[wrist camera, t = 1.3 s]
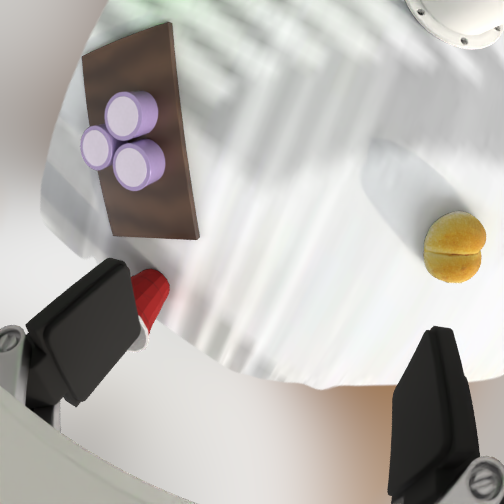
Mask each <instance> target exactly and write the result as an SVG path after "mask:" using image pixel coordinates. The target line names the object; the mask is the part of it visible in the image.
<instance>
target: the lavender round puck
mask: <svg viewBox="0 0 504 504" xmlns="http://www.w3.org/2000/svg"><path fill="white" fill-rule="evenodd" d="M164 170H165V157H164V154H163V151H162V149H161V148H160V147H159V145H158V144H157V143H155V142H154V141H152V140H150V139H140V140H136V141H133V142H129V143H126V144H123V145H122V146H120V147H119V148H118V149H117V151H116V152H115V154H114V158H113V171H114V174H115V177H116V179H117V180H118V182H119V183H120V184H121V185H122V186H123V187H124V188H126V189H128V190H131V191H138V190H141V189H143V188H145V187H147V186H149V185H151V184H153V183H154V182H156V181H158V180H159V179H160V178H161V177H162V175H163V173H164Z"/></svg>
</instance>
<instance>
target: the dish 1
mask: <svg viewBox="0 0 504 504" xmlns="http://www.w3.org/2000/svg"><path fill="white" fill-rule="evenodd" d="M157 119H158V107H157V103H156V101H155V99H154V98H153V96H152V95H151V94H149V93H148V92H146V91H142V90H137V91H125V92H119V93H117V94H115V95H114V96H113V97H112V98H111V99H110V100H109V102H108V103H107V106H106V109H105V124H106V127H107V129H108V131H109V133H110V134H111V135H112V136H113V137H114V138H116V139H118V140H121V141H125V140H129V139H133V138H136V137H140V136H144V135H146V134H148V133H149V132H151V130H152V129H153V128H154V127H155V125H156V122H157Z"/></svg>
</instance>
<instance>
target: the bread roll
mask: <svg viewBox="0 0 504 504" xmlns="http://www.w3.org/2000/svg"><path fill="white" fill-rule="evenodd" d="M485 242H486V232H485V229H484V227H483V226H482V224H481V223H480V221H479V220H478V219H476V218H475V217H474V216H472V215H471V214H469V213H467V212H462V211H456V212H451V213H449V214H446V215H444V216H442V217H441V218H439V219H438V220H437V221H436V222H435V223H434V224H433V225H432V226H431V228H430V229H429V231H428V233H427V235H426V238H425V242H424V254H423V257H424V263H425V266H426V268H427V270H428V272H429V273H430V274H431V275H432V276H434V277H435V278H438V279H439V280H442V281H445V282H447V283H462V282H464V281H467V280H469V279H470V278H471V277H473V276H474V275H475V274H476V272H477V271H478V269H479V267H480V265H481V251H480V250H481V249H482V248H483V246H484V244H485Z"/></svg>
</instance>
